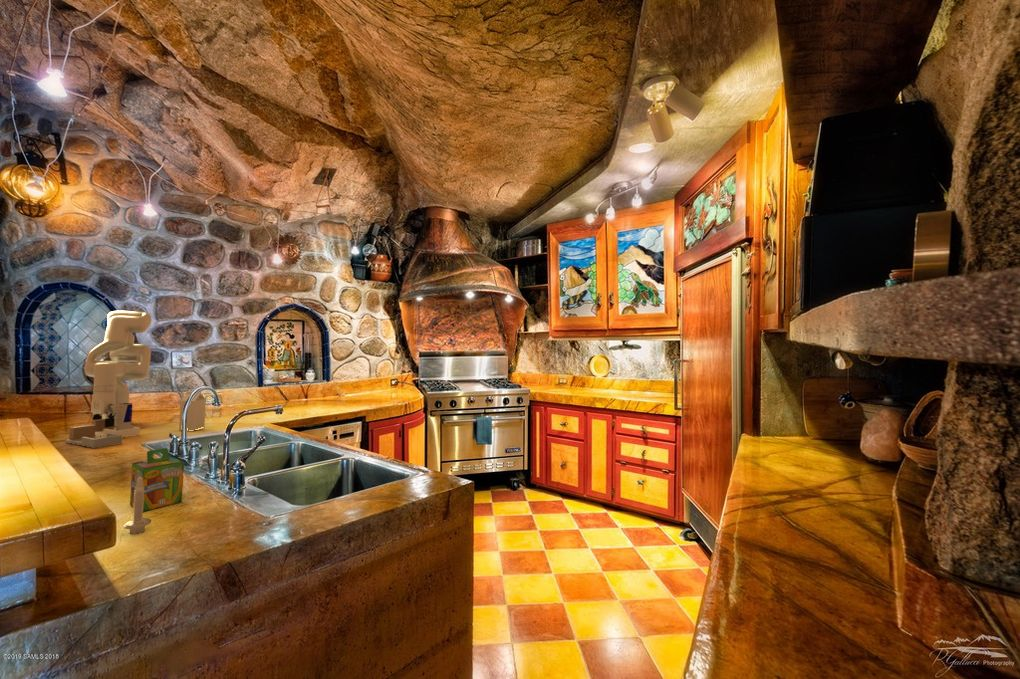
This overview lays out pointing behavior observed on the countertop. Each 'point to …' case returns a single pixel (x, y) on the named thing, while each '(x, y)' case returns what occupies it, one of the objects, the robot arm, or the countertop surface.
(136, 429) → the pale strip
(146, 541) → the countertop surface
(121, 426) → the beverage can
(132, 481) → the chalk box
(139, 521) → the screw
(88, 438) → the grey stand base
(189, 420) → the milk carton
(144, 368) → the robot arm
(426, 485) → the countertop surface
